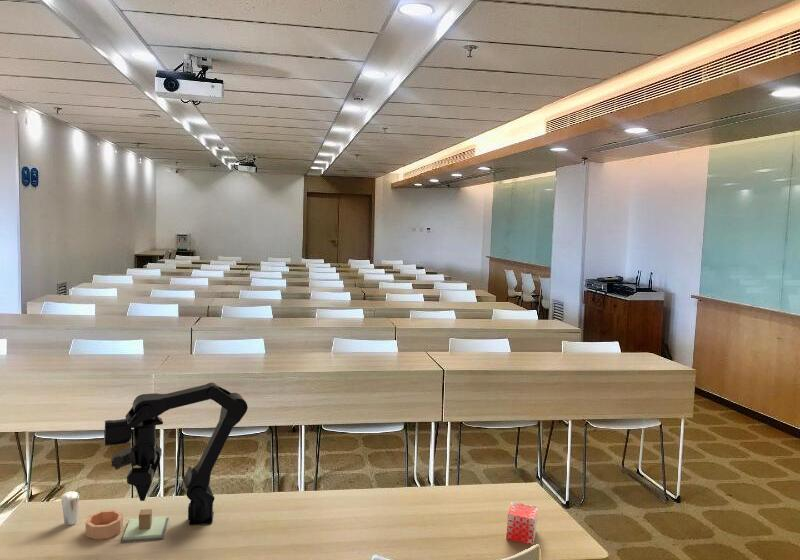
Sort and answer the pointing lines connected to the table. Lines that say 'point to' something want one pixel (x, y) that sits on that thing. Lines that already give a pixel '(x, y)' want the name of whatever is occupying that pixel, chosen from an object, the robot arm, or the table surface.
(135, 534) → the cover board
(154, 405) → the robot arm
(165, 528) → the mat
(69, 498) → the milkshake
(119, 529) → the bowl
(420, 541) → the table surface
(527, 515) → the puzzle cube
